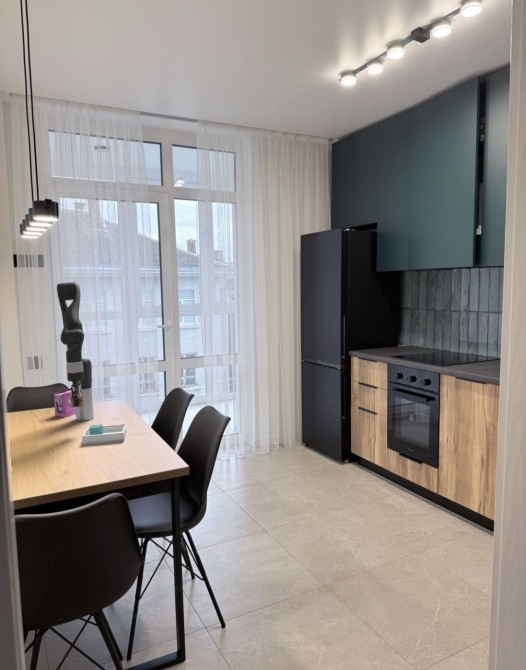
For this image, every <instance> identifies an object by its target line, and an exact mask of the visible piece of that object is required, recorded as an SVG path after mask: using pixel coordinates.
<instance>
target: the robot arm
mask: <svg viewBox="0 0 526 670" xmlns="http://www.w3.org/2000/svg"><path fill="white" fill-rule="evenodd" d="M56 294H57V298H58V303H59V308H60V311H61V319H62V325H63V327H62V330H61V334H60V341H61V343H62V344H63V345H64V346H66V348H67V350H66V352H65V356H66V357H65V358H66V360H65V361H66V368H65V369H66V380H67V381H68V382H71V383H72V384H71V385H70V388H71V393H72V399H74V406H75V411H76V414H75V419H76V421H78V422H79V421H80V422H81V421H83V422H84V421H90V420H93V419H94V417H95V415H94V400H93V386H92V383H93V372H92V369H93V366H92V361H91V360H90V359H89V358H83V356H82V352H83V351H82V350H83V344H84V341H85V333H84V329H83V324H82V321H81V320H80V304H81V288H80V284H79V283H78V282H75V281H74V282H73V281H71V282H70V281H69V282H61V283H57V284H56ZM66 301H71V303H70V304H69V306H68V303H67V302H66ZM81 394H83V398H84V405H83V406H82V407H77V406H79V395H81ZM74 395H76V396H74Z"/></svg>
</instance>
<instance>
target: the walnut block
mask: <svg viewBox="0 0 526 670" xmlns="http://www.w3.org/2000/svg"><path fill="white" fill-rule="evenodd" d="M74 396H76V395H74ZM83 405H84V398H83V394H81V395H79V406H77V407H82V406H83ZM72 407H75V406H74V399H72V396H71V408H72Z"/></svg>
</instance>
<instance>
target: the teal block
mask: <svg viewBox="0 0 526 670" xmlns="http://www.w3.org/2000/svg"><path fill="white" fill-rule="evenodd" d="M102 426H103V424H91V425H90V426H89V427H90V435H98V434H103V428H102Z"/></svg>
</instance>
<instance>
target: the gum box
mask: <svg viewBox="0 0 526 670" xmlns="http://www.w3.org/2000/svg"><path fill="white" fill-rule="evenodd" d="M53 395H54V396H53V398H54V416H55V417H57V416H59V417H61V418H67V416H68V417H70V416H72V415H76V414H75V413H76V411H75V407H72V408H71V396H72V393H71V387H70V388H67V389H64V390H60V391H57V392H54V394H53ZM59 417H58V418H59Z"/></svg>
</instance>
